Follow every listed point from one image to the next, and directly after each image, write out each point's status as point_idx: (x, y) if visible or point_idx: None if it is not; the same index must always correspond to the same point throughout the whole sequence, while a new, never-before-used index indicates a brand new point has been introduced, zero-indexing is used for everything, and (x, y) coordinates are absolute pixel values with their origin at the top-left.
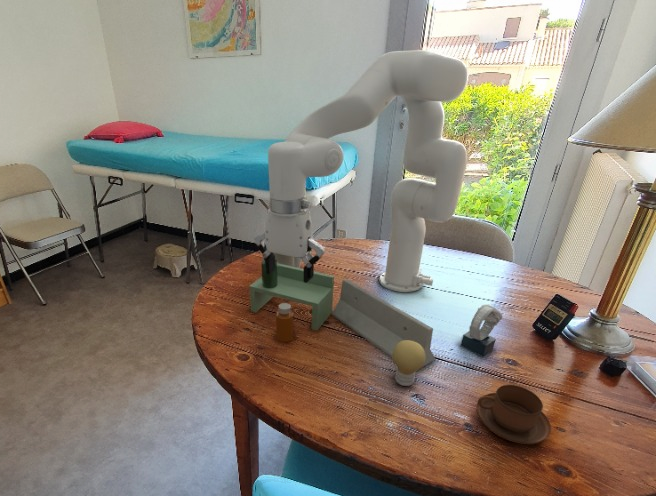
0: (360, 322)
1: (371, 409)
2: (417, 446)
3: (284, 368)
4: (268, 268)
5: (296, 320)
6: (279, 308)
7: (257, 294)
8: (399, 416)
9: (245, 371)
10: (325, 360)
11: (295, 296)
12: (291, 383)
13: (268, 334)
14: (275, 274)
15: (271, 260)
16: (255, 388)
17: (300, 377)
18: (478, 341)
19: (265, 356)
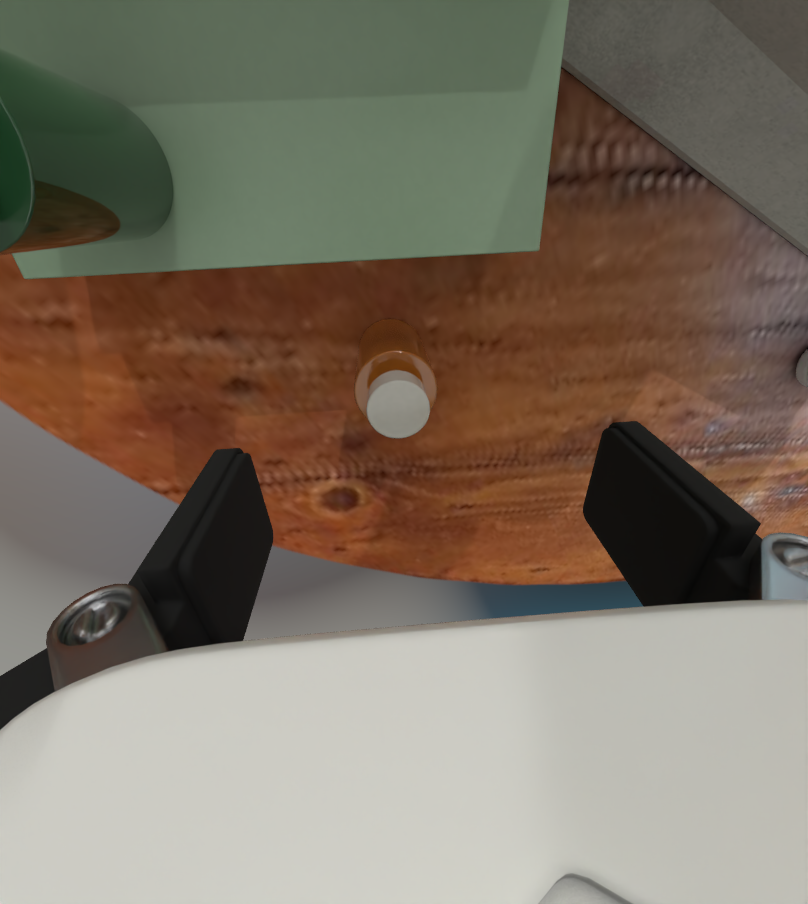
0: (715, 106)
1: None
2: (796, 518)
3: (469, 478)
4: (256, 579)
5: None
6: (384, 434)
7: None
8: (774, 473)
9: (383, 533)
10: (570, 391)
11: (374, 240)
12: (509, 510)
13: (329, 370)
14: (114, 176)
15: (229, 598)
16: (439, 558)
17: (523, 484)
18: None
19: (393, 467)
